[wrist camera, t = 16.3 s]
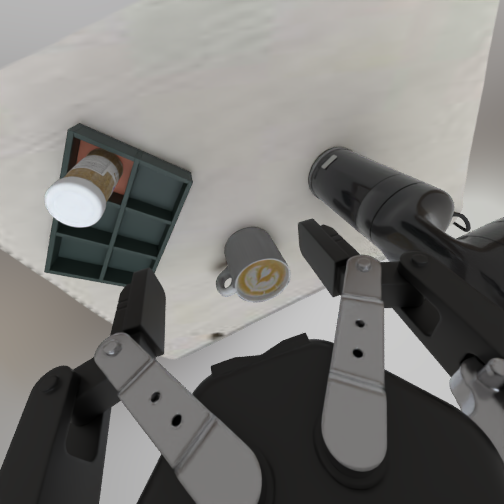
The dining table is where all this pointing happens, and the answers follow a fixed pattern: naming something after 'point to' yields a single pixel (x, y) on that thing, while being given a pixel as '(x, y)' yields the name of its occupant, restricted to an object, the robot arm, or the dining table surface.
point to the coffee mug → (253, 266)
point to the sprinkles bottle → (85, 189)
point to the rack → (119, 214)
